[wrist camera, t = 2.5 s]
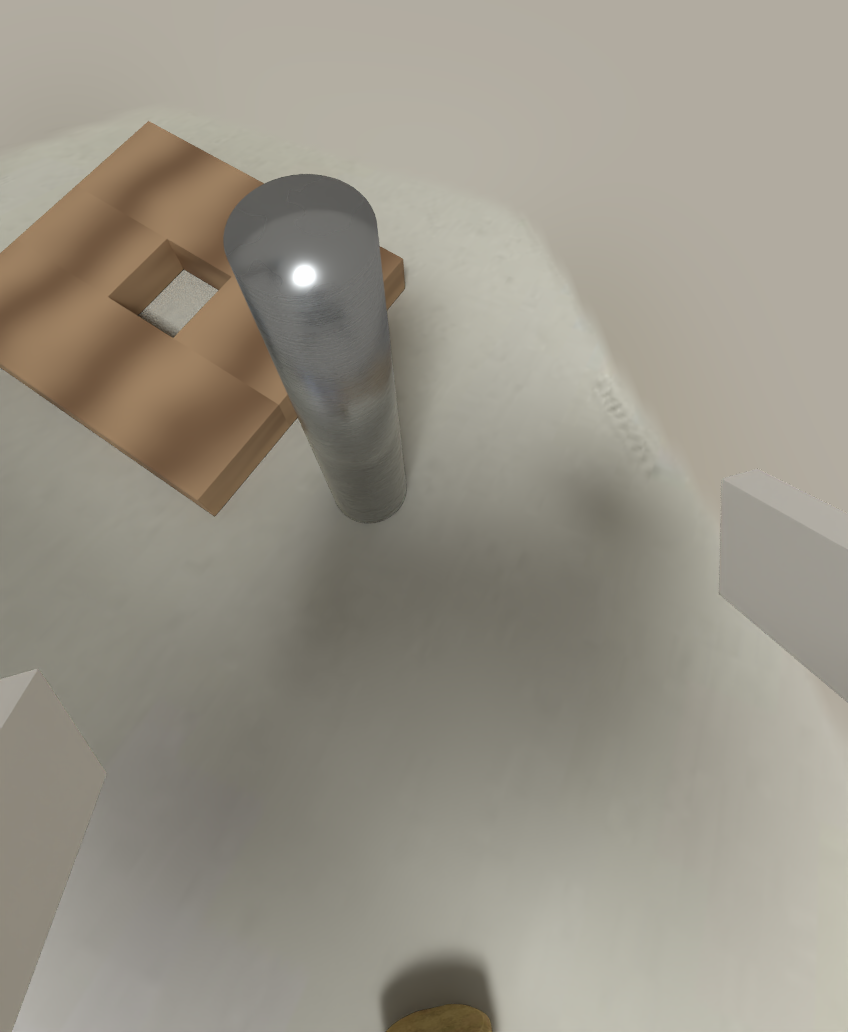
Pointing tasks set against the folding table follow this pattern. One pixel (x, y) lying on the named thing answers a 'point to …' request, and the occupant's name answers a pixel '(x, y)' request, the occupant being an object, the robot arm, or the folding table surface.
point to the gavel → (444, 1020)
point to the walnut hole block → (133, 341)
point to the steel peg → (326, 329)
